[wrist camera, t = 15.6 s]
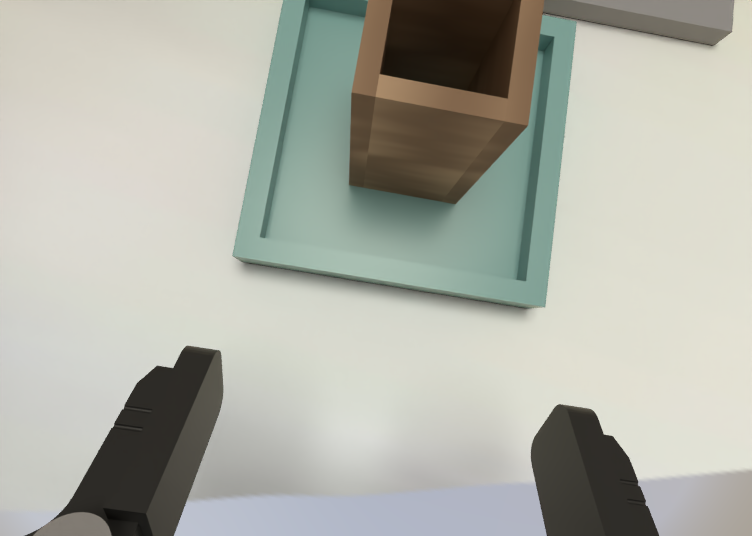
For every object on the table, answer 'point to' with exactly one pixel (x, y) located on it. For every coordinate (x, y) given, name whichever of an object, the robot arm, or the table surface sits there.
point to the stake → (654, 16)
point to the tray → (390, 210)
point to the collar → (440, 92)
